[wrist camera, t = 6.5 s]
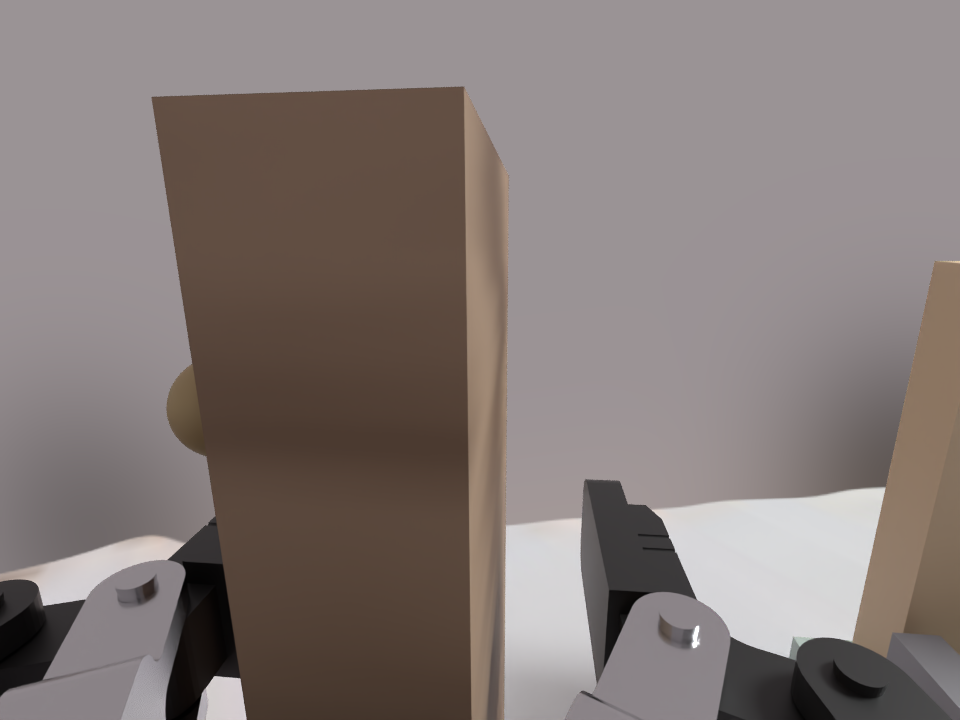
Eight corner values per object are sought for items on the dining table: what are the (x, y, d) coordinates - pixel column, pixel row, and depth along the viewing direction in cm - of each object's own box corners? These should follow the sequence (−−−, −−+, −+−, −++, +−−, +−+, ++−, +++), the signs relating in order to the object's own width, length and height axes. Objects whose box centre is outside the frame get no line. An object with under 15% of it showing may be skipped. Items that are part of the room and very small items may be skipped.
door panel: (477, 1234, 8) (463, 86, 4) (257, 1191, 8) (31, 102, 4) (503, 768, 15) (508, 175, 11) (382, 756, 15) (342, 178, 11)
